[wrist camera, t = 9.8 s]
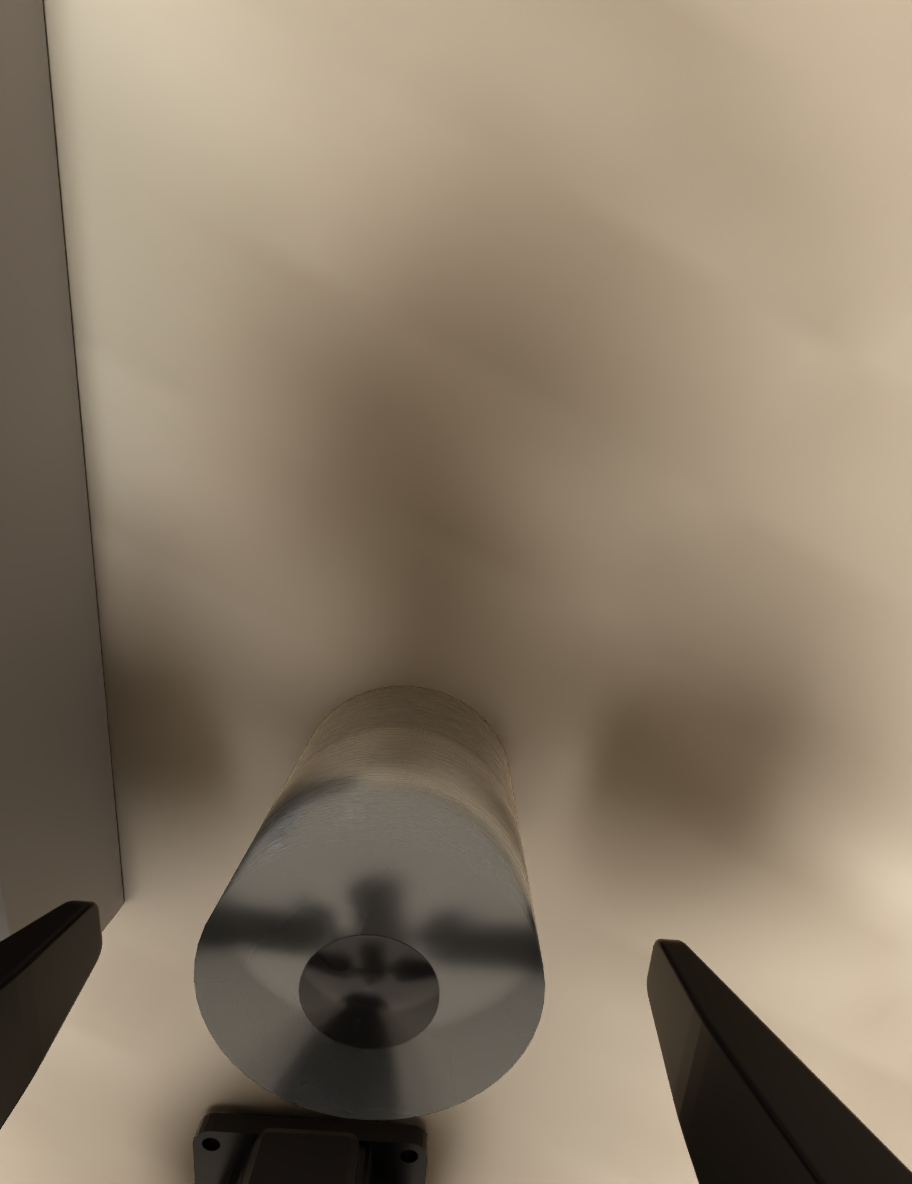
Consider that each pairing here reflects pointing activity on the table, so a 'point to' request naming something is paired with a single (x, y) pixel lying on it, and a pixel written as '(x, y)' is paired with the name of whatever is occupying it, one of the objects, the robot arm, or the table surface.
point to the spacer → (380, 919)
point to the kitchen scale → (44, 533)
